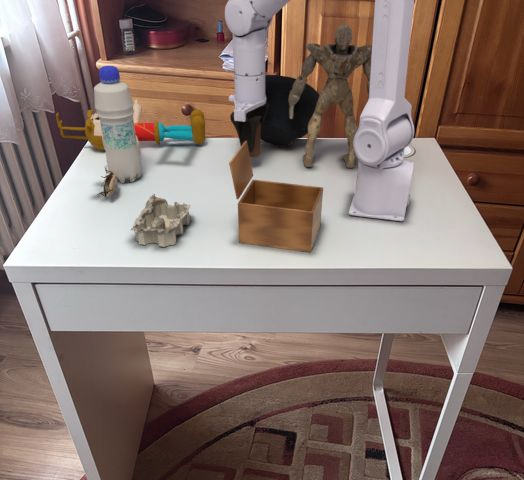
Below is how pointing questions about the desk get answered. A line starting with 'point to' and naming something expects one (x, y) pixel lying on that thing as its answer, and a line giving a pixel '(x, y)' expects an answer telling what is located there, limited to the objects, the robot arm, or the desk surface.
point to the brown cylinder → (257, 143)
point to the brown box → (280, 215)
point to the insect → (109, 183)
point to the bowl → (286, 111)
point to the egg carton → (161, 222)
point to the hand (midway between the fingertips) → (250, 146)
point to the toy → (142, 129)
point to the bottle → (117, 124)
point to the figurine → (333, 86)
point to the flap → (241, 169)
